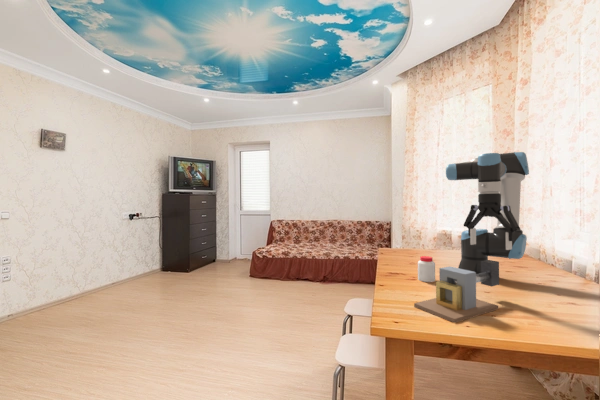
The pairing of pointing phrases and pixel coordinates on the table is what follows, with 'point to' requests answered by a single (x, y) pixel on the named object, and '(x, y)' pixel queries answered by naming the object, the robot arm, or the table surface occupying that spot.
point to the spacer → (455, 295)
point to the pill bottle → (426, 269)
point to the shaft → (487, 273)
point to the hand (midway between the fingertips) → (490, 246)
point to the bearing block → (469, 301)
